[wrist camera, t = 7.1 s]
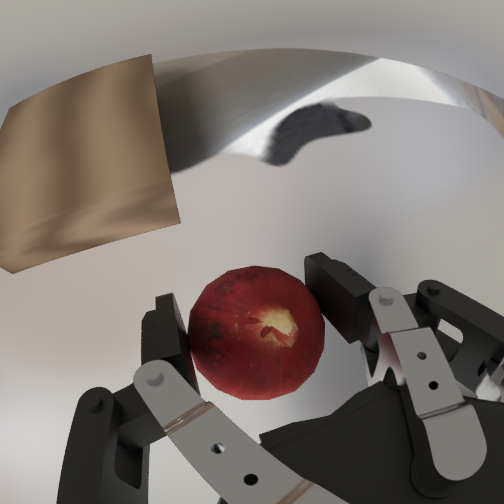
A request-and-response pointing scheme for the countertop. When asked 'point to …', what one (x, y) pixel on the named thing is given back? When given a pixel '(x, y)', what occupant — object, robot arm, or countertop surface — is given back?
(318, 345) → the onion
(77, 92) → the walnut base
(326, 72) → the countertop surface
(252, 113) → the countertop surface
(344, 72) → the countertop surface
